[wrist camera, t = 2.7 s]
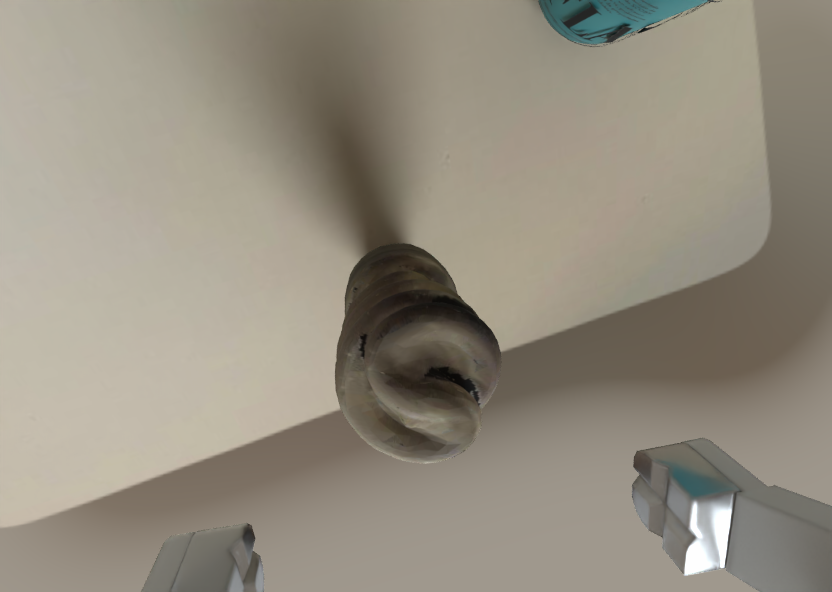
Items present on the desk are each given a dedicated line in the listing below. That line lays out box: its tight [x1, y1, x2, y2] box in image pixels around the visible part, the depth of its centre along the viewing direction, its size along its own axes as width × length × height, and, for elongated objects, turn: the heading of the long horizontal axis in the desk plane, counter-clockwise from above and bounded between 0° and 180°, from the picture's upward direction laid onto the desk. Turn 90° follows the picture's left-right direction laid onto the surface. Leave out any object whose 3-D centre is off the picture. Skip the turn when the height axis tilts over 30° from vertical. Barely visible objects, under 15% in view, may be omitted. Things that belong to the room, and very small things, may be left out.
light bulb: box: [335, 244, 501, 463], centre depth 21 cm, size 6×6×15 cm
